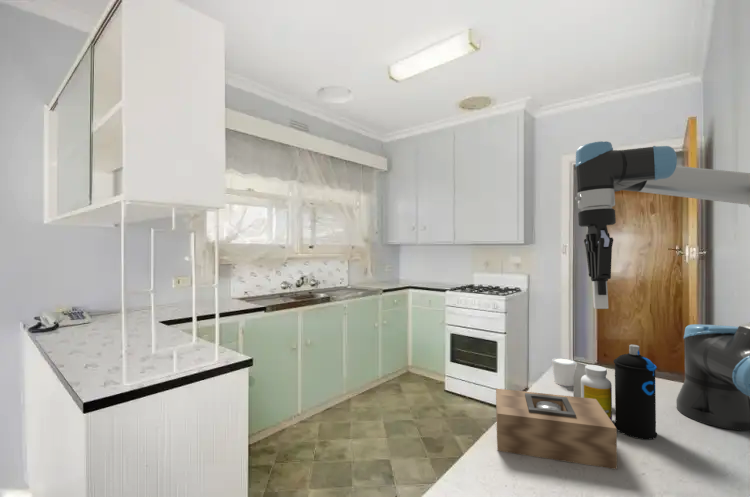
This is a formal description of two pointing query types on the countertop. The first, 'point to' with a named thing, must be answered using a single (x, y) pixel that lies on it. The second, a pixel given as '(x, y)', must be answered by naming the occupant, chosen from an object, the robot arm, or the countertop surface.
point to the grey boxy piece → (578, 379)
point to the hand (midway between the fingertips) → (600, 308)
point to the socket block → (555, 428)
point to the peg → (548, 405)
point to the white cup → (563, 371)
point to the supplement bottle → (597, 387)
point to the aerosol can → (635, 395)
